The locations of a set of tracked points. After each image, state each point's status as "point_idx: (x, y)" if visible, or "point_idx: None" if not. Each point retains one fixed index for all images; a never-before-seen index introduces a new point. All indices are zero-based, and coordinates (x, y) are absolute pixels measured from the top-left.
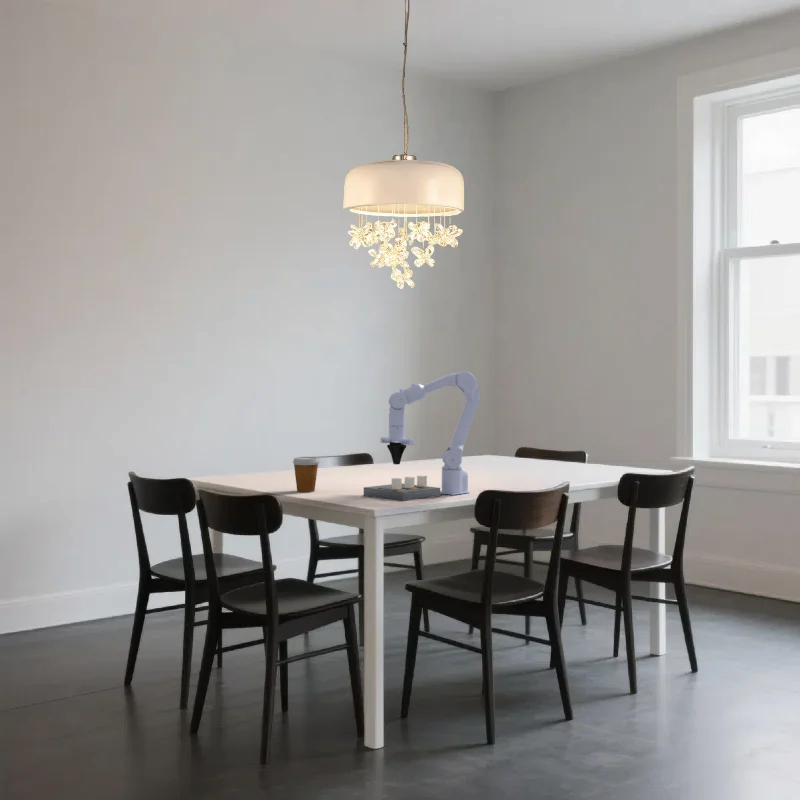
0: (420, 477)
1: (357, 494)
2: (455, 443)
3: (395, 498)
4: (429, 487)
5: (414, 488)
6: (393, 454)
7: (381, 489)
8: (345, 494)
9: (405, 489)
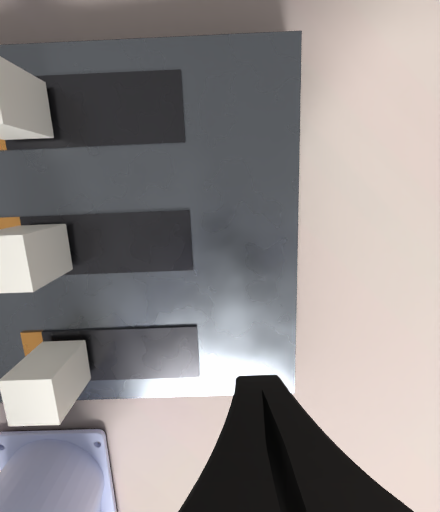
0: (22, 373)
1: (360, 73)
2: None
3: None
4: None
5: None
6: (287, 462)
7: (116, 45)
8: (418, 5)
9: (21, 185)
